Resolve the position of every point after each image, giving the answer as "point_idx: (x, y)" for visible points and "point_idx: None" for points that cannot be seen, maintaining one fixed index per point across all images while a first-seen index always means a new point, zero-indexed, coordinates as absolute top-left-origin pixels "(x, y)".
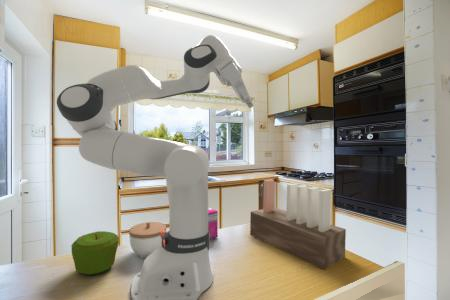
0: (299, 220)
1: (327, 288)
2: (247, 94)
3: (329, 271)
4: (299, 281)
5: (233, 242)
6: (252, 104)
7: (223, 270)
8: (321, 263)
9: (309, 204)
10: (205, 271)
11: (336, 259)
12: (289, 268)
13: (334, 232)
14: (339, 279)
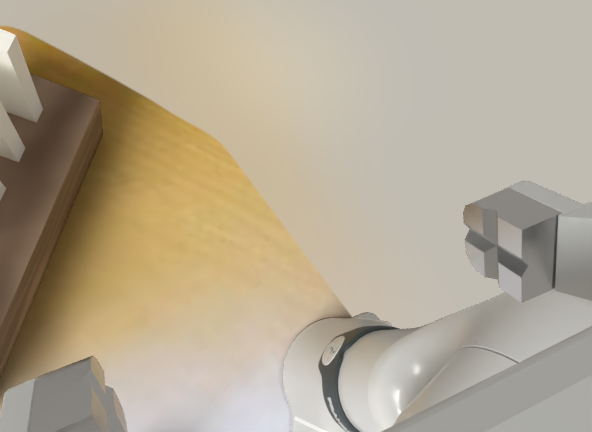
0: (2, 186)
1: (178, 118)
2: (538, 197)
3: None
4: (189, 172)
5: None
6: (95, 359)
7: (258, 336)
8: (99, 134)
9: (4, 121)
10: (344, 324)
11: None
12: (148, 206)
13: None
14: (125, 99)
